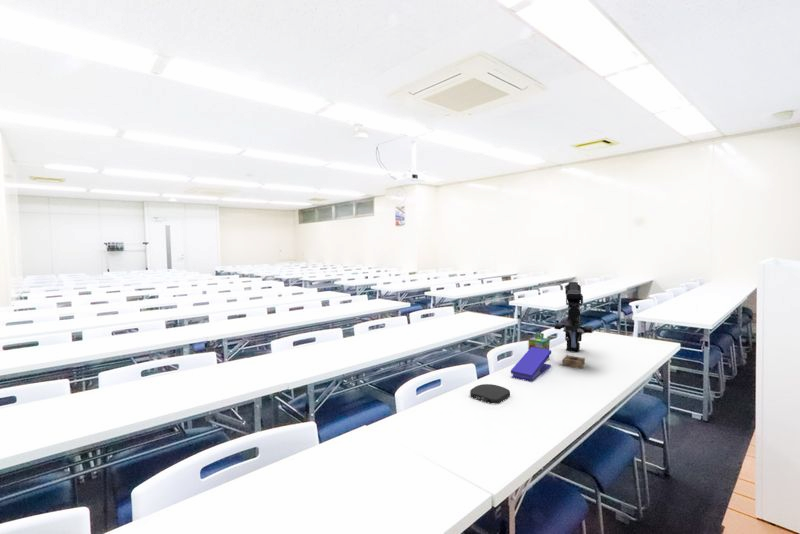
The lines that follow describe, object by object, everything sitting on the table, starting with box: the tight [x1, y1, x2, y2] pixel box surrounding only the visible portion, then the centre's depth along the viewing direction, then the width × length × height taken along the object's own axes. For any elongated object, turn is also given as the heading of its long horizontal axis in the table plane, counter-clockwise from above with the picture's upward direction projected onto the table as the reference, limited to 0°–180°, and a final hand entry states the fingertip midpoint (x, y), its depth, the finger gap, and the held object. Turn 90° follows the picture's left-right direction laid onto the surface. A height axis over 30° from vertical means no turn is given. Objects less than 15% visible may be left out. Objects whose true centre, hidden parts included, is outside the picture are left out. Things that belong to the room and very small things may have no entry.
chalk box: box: [527, 332, 551, 351], centre depth 221 cm, size 9×9×15 cm
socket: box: [561, 354, 586, 370], centre depth 209 cm, size 9×9×4 cm
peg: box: [571, 332, 576, 348], centre depth 208 cm, size 2×2×8 cm
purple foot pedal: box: [510, 347, 552, 383], centre depth 200 cm, size 12×28×10 cm, turn 141°
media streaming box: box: [469, 383, 511, 404], centre depth 171 cm, size 15×15×3 cm
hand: (573, 343), depth 208 cm, fingers closed on peg, 2 cm apart
